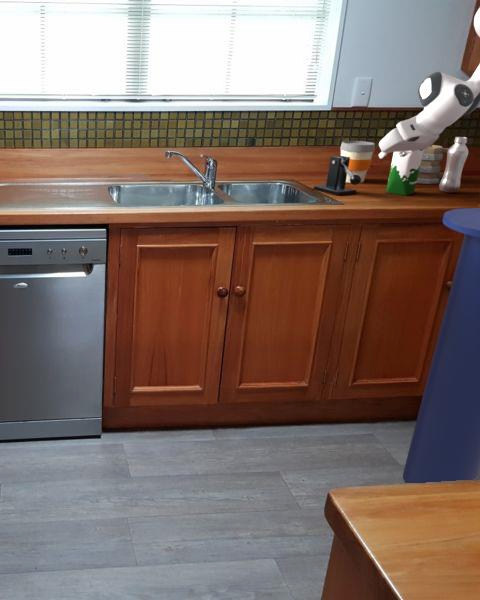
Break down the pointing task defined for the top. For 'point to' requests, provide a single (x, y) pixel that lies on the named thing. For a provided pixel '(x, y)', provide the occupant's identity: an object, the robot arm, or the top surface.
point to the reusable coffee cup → (358, 157)
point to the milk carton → (404, 173)
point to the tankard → (431, 165)
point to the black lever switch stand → (336, 178)
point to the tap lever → (350, 173)
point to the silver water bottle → (454, 166)
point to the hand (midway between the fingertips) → (390, 156)
